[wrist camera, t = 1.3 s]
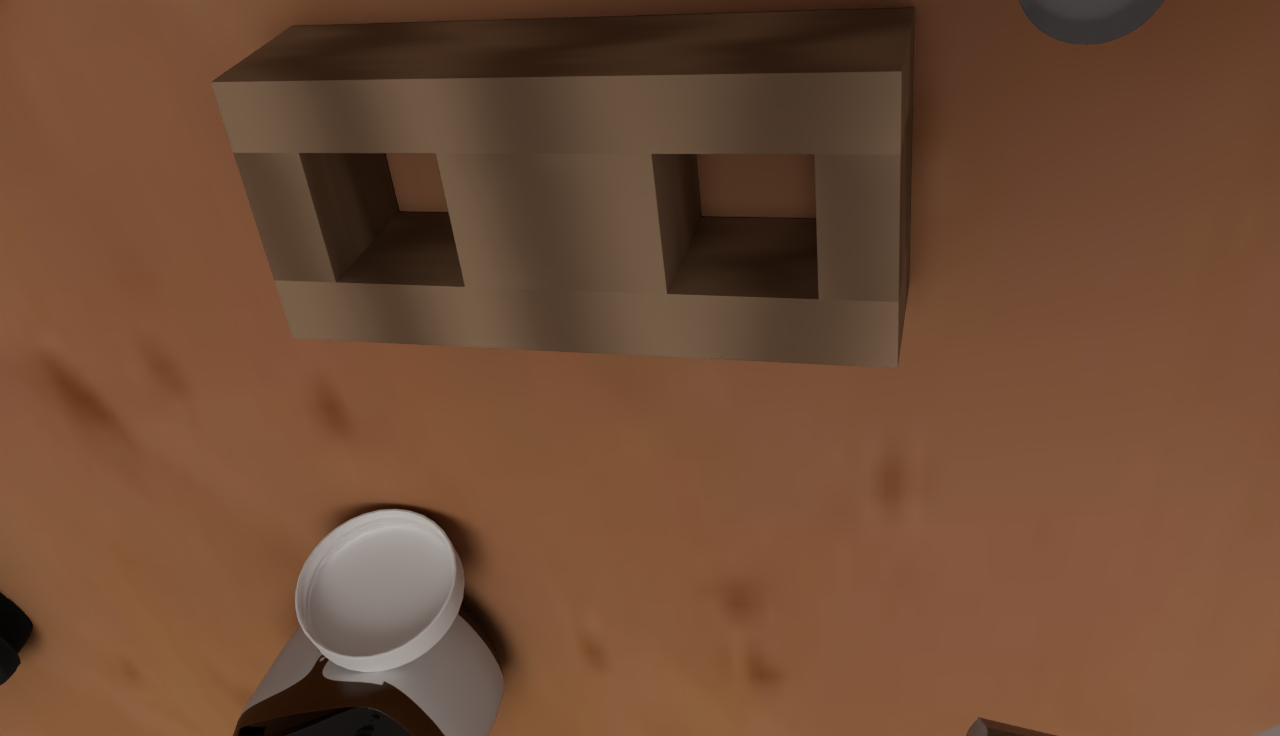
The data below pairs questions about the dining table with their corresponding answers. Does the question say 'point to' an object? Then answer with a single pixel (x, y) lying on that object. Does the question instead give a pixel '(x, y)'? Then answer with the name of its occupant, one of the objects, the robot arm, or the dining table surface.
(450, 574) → the spread jar
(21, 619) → the egg carton
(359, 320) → the block
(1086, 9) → the peg
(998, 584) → the dining table surface
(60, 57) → the dining table surface
